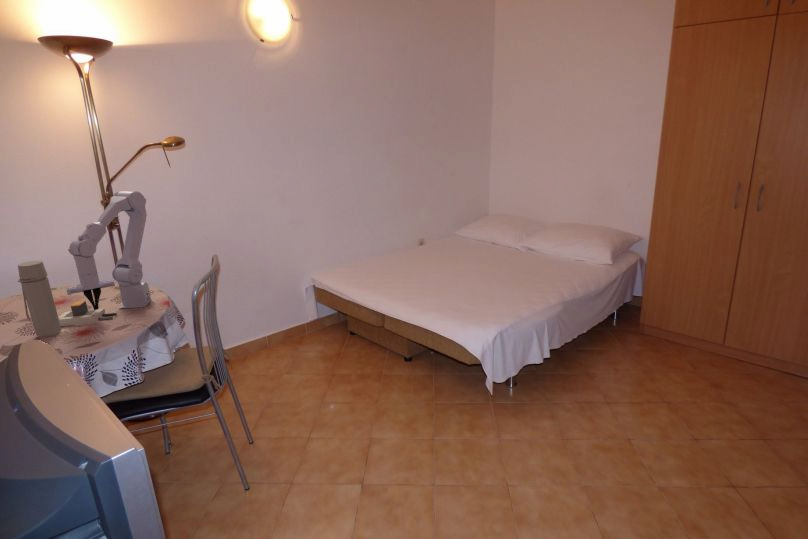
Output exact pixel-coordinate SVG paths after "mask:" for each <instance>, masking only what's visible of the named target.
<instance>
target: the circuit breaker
mask: <svg viewBox="0 0 808 539" xmlns="http://www.w3.org/2000/svg"><path fill="white" fill-rule="evenodd" d="M102 314H106V310H105V308H99V309H97V310H94V308H93V309H88V311H87V312H85V313H84V314H83V315H77V316H73V314H72V310H71V311H65V312H63V313H61V315H58V318H59V322H60V326H61V327H66V326H79V325H89V324H90V325H91V324H97V323H98V322H99V321H100V320H99V319H98V318H99V317H103V316H102Z"/></svg>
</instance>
